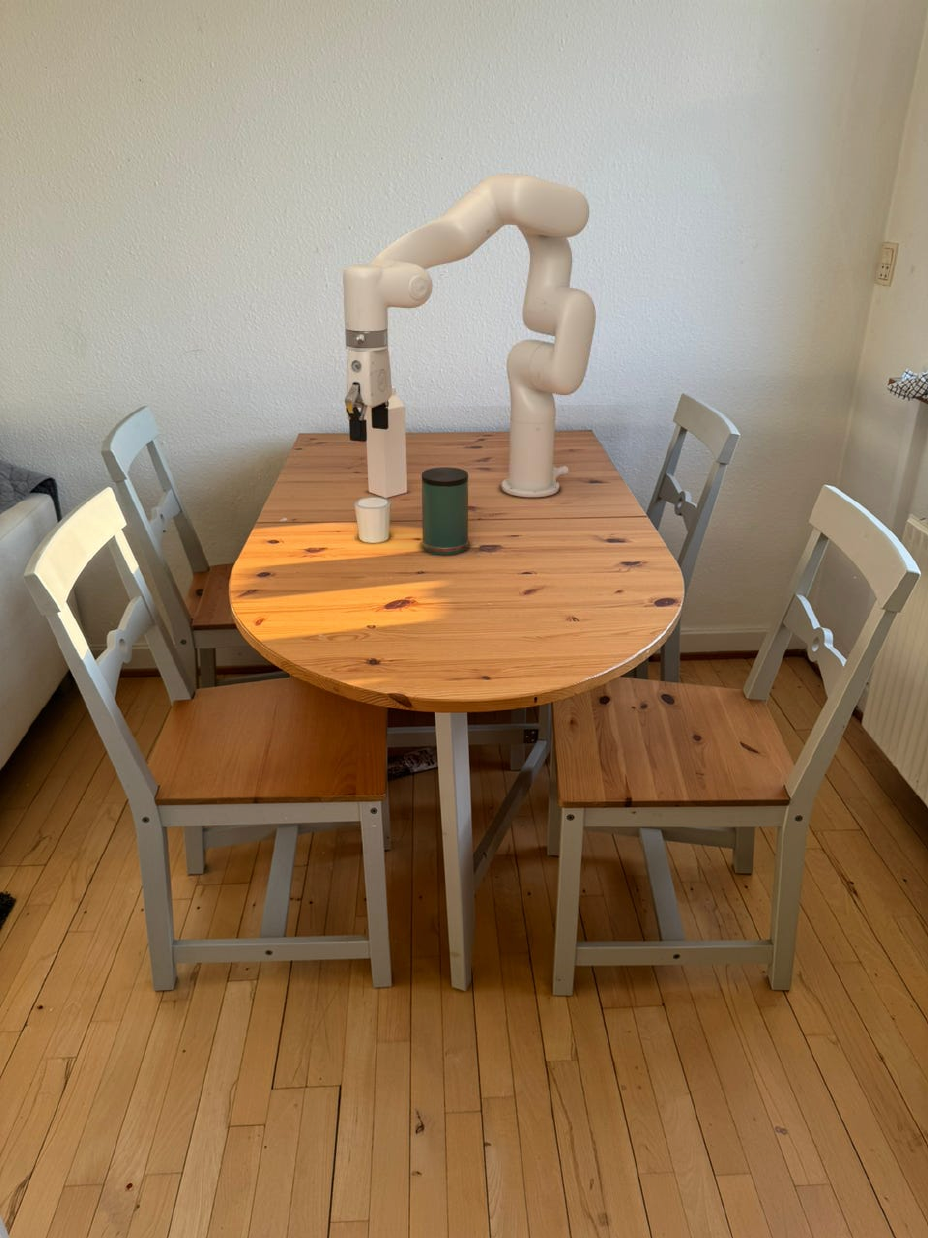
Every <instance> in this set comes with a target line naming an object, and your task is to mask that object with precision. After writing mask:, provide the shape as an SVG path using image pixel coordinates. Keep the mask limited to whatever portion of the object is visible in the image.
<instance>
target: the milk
mask: <svg viewBox="0 0 928 1238" xmlns="http://www.w3.org/2000/svg"><path fill="white" fill-rule="evenodd" d="M388 402H389V406H388V429H386V430H385V429H375V428H372V412H371V408H370V407H369V406H367V410H366V414H365V417H364V419H365V420H366V421H367V441H366V462H367V483H368V486H367V487H368V493H371V494H373V495H376V496H379V497H380V498H385V499H388V498H392V497H395V496H399V495H403V494H407V493H408V481H407V480H408V479H407V475H408V473H407V446H406V445H407V441H406V439H407V437H406V435H407V434H406V405H405V404H404V403H403V401H401V400H400V398H399V397H398V396H397V390H396V388H394V387H393V388H392V396H391V398H390V399H389V400H388ZM386 408H387V407H386Z"/></svg>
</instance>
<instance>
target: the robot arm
mask: <svg viewBox="0 0 928 1238" xmlns="http://www.w3.org/2000/svg"><path fill="white" fill-rule="evenodd" d="M589 218H590V206H589V202H588V199H587V198H586V196H585V195H584V194H583V193H582V192H581V191H580V190H578V189H577V188H574V187H570V186H568V185H564V184H560V183H557V182H553V181H550V180H546V179H544V178H540V177H537V176H534V175H528V174H517V173H516V174H515V173H514V174H512V173H511V174H509V173H495V174H491V175H488V176H487V177H484V178H483V179H481V181H479V182H478V183H477V184H476V185H474V187H473V188H471V189H470V190H469V191H468V192H466V194H464V196H462V197H461V198H460V199H459V200H458V201H457V202H456V203H455V204H453V205H452V206H451V207H450V208H448V209H447V210H446V211H445V212H444V213H443V214H441V215H440V216H439V217H437V218H435V219H433V220H431V221H428V222H426V223H425V224H423V225H421V226H419V227H418V228H415V229H413V230H412V231H409V232H407V233H405V234H404V235H402V236H400V237H399V238H397V239H396V240H394V241H392V242H391V243H390V244H389V245H387V246H386V247H385V248H383V250H382V251H381V252H379V253H378V254H377V255H376V256H375V257H374V258H373V259H372V260H371V261H370V263H368V264H352V265H348V266H347V267H346V268H345V269H343V274H342V275H343V276H342V280H343V281H342V282H343V308H344V332H345V333H344V335H345V337H344V338H345V349H346V350H347V361H346V395H345V396H344V397H345V398H344V404H345V407H346V409H345V410H346V413H347V419H348V426H349V427H348V429H349V430H348V431H349V433H348V434H349V441H351V442H359V443H367V421H366V419H365V414H366V410H367V406H369V407H370V408H371V412H372V428H375V429H385V430H386V429H388V406H389V402H388V400H389V399H390V398H391V396H392V389H393V388H392V374H391V373H392V371H391V361H390V353H389V318H388V317H389V315H388V309H389V308H398V309H399V308H401V309H416V308H419V307H421V306H423V305H424V304H425V303H427V302H428V300H429V299H430V297H431V295H432V293H433V288H434V287H433V279H432V276H431V275H430V273H429V272H428V271H427V270H428V269H431V268H433V267H437V266H440V265H446V264H451V263H455V262H458V261H461V260H463V259H466V258H468V257H470V256H471V255H473V254H474V253H475V252H476V251H477V250H478V249H479V248H480V247H482V245H483V244H484V243H486V242H487V241H488V240H489V239H490V238H491V237H492V236H494V235H495V234H496V233H497V232H498V231H499V230H500V229H502V228H503V227H505V226H516V227H517V228H518V230H519V231H520V233H521V235H522V236H523V238H524V240H525V242H526V244H527V247H528V251H529V266H528V273H527V279H526V280H527V281H526V287H525V293H524V297H523V305H522V313H521V314H522V315H521V316H522V322H523V325H524V326H525V328H526V329H528V330H530V331H532V332H534V333H538V334H542V335H546V336H552V337H554V341H553V342H550V341H544V340H540V339H524V340H521V341H518V342H517V343H516V344H514V345H513V346H512V347H511V349H510V351H508V355H507V358H506V375H507V379H508V380H507V381H508V386H509V395H510V398H509V399H510V413H509V414H510V417H509V447H508V449H509V453H508V454H509V456H508V478H506V479H504V480H502V482H501V485H500V487H501V490H502V491H503V492H504V493H506V494H508V495H510V496H514V497H518V498H519V497H520V498H545V497H549V496H553V495H555V494H557V493H558V492H559V490H560V483H559V482H558V481H557V479H558V478H559V477H562V476H566V475H568V474H569V473H570V472H569V471H570V470H569V468H568V466H567V465H563V466H558V467H556V465H554V452H555V431H556V415H557V414H556V411H557V410H556V409H557V408H556V402H555V398H554V395H559V396H570V395H572V394H574V393H575V392H577V391H578V390H579V388H580V387H581V386H582V384H583V382H584V380H585V377H586V373H587V370H588V364H589V359H590V356H591V349H592V343H593V338H594V333H595V328H596V322H597V321H596V319H597V315H596V314H597V311H596V305H595V303H594V300H593V299H592V297H591V295H590V294H589V293H587V292H586V291H585V290H582V289H580V288H574V287H570V284H571V278H572V277H571V276H572V270H573V269H572V268H573V252H572V247H571V245H570V242H569V239H568V238H572V237H575V236H577V235H579V234H580V233H581V232H582V231H583V230H584V229H585V227H586V225H587V224H588V222H589ZM386 407H387V408H386ZM359 409H360V410H359Z"/></svg>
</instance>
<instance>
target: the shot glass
mask: <svg viewBox="0 0 928 1238" xmlns="http://www.w3.org/2000/svg"><path fill="white" fill-rule="evenodd" d="M353 504H354V511H355V517H356V524H357V532H358V537H359V540H360V541H362V542H364V543H370V544H371V543H372V544H376V543H382V542H385V541H387V540H388V539H389V538H390V527H391V526H390V525H391V511H392V502H391V500H389V499H388V498H384V497H381V496H379V497H376V496H371V497H364V498H360V499H358V500H356V501H354V503H353Z"/></svg>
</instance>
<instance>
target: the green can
mask: <svg viewBox="0 0 928 1238" xmlns="http://www.w3.org/2000/svg"><path fill="white" fill-rule="evenodd" d="M421 517H422V519H421V521H422V523H421V524H422V527H421V528H422V541H421V542H422V549H423V550H424V551H425V552H426V553H429V554H433V555H438V556H453V555H458V554H462V553H463V552H465V551H467V550H468V548H469V473H468V471H466V470H464V469H461V468H459V467H458V468H457V467H450V466H449V467H448V466H447V467H445V466H444V467H433V468H427V469H426V470H424V471H422V472H421Z"/></svg>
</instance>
